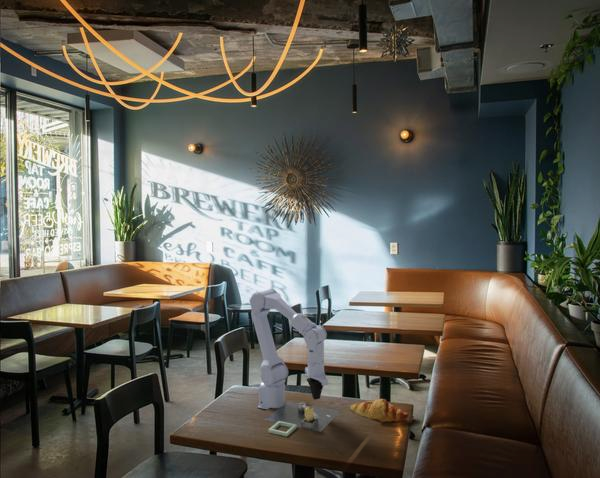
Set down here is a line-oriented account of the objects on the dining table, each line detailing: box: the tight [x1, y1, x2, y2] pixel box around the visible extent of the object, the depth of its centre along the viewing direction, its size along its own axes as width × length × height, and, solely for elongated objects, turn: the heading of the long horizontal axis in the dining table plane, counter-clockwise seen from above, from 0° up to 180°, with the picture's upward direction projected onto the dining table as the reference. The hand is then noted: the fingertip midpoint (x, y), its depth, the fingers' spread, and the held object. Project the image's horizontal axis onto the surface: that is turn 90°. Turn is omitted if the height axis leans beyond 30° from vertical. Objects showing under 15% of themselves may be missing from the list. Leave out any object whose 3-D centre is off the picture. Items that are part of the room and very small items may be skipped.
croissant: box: [350, 398, 409, 423], centre depth 176 cm, size 21×10×8 cm
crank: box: [297, 401, 319, 419], centre depth 174 cm, size 14×3×5 cm, turn 23°
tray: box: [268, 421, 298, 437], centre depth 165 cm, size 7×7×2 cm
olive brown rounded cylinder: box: [305, 405, 313, 423], centre depth 168 cm, size 3×3×6 cm
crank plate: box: [263, 400, 342, 433], centre depth 176 cm, size 22×18×3 cm
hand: (316, 398), depth 175 cm, fingers closed
